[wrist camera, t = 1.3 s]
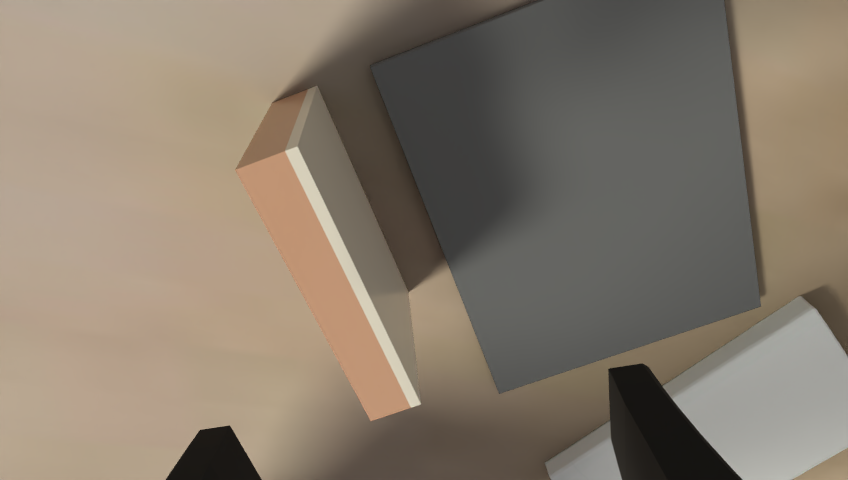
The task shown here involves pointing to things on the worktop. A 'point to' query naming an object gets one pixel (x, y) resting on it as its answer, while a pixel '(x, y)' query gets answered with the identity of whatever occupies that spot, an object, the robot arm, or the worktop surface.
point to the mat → (581, 176)
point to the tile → (334, 249)
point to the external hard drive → (751, 402)
